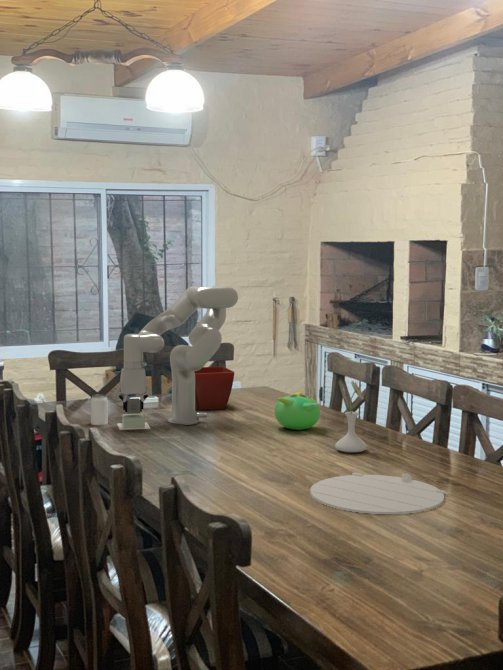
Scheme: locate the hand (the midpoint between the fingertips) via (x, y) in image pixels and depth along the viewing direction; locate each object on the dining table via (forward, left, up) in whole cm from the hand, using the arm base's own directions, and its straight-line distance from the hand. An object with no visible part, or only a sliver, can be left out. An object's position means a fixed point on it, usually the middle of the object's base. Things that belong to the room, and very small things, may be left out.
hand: (133, 410), depth 356 cm
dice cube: (0, 0, -1) cm, 1 cm away
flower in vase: (-72, +52, -7) cm, 89 cm away
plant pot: (-37, -38, -7) cm, 54 cm away
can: (+13, -7, -7) cm, 16 cm away
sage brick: (0, 0, -6) cm, 6 cm away
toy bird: (-63, +14, -7) cm, 65 cm away
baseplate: (0, 0, -7) cm, 7 cm away
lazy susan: (-61, +106, -7) cm, 123 cm away
